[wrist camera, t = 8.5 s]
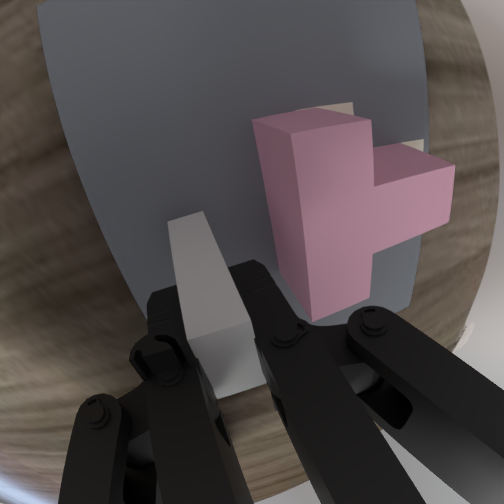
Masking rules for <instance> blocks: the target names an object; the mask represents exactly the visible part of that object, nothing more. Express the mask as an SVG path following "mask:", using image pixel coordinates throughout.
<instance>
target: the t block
mask: <svg viewBox="0 0 504 504" xmlns="http://www.w3.org/2000/svg"><path fill="white" fill-rule="evenodd" d="M252 124H253V129H254V134H255V139H256V144H257V150H258V155H259V160H260V165H261V170H262V176H263V181H264V186H265V192H266V197H267V203H268V208H269V214H270V219H271V225H272V231H273V236H274V242H275V248H276V253H277V259H278V265H279V271H280V273H281V275H282V277H283V278H284V280H285V281H286V283H287V284H288V286H289V287H290V289H291V290H292V292H293V293H294V295H295V297H296V298H297V300H298V301H299V303H300V304H301V306H302V307H303V309H304V310H305V312H306V313H307V315H308V317H309V318H310V320H311V321H312V322H314V321H316V320H319V319H321V318H324V317H326V316H329V315H331V314H333V313H336V312H338V311H340V310H343V309H345V308H347V307H350V306H352V305H354V304H357V303H359V302H361V301H363V300H366V299H368V298H369V297H370V286H371V273H372V257H373V254H374V253H376V252H379V251H381V250H384V249H386V248H389V247H391V246H394V245H396V244H399V243H401V242H403V241H406V240H408V239H411V238H413V237H415V236H418V235H420V234H422V233H425V232H427V231H429V230H432V229H434V228H436V227H439V226H441V225H443V224H446V223H448V222H449V217H450V210H451V202H452V194H453V184H454V173H455V165H454V164H452V163H450V162H447V161H445V160H443V159H440V158H438V157H435V156H433V155H430V154H428V153H425V152H423V151H420V150H418V149H415V148H413V147H410V146H407V145H404V144H402V143H396V144H391V145H386V146H381V147H376V148H373V141H372V125H371V120H370V119H366V118H362V117H358V116H354V115H350V114H345V113H341V112H336V111H331V110H326V109H321V108H309V109H303V110H298V111H292V112H287V113H281V114H276V115H271V116H266V117H262V118H257V119H253V120H252Z"/></svg>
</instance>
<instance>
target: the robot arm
mask: <svg viewBox="0 0 504 504" xmlns="http://www.w3.org/2000/svg"><path fill="white" fill-rule="evenodd" d="M167 223H168V230H169V238H170V245H171V252H172V258H173V265H174V271H175V277H176V283H177V285H174V286H170V287H167V288H164V289H161V290H158V291H154V292H152V293H151V295H150V297H149V300H148V302H147V324H148V335H146V336H144V337H143V338H141V339H140V340H139V341H138V342H137V343H136V344H135V345H134V347H133V348H132V350H131V352H130V357H129V361H130V363H131V364H132V366H133V367H134V368H135V370H136V371H137V372H138V374H139V375H140V376H141V378H142V379H143V380H144V381H143V382H142V383H141V384H140V385H139V386H138V387H137V388H135V389H134V390H132V391H131V392H129V393H127V394H125V395H124V396H122V397H120V398H118V399H117V400H116V399H115V398H114V397H113V396H111V395H107V394H97V395H94V396H92V397H90V398H88V399H86V401H85V402H84V403H83V404H82V405H81V406H80V408H79V410H78V412H77V415H76V418H75V422H74V426H73V430H72V434H71V439H70V443H69V447H68V452H67V456H66V461H65V466H64V471H63V477H62V482H61V488H60V494H59V501H58V504H254V502H253V500H252V497H251V495H250V492H249V489H248V487H247V484H246V481H245V478H244V476H243V473H242V470H241V467H240V464H239V462H238V459H237V456H236V453H235V450H234V447H233V444H232V441H231V438H230V435H229V432H228V429H227V426H226V423H225V420H224V416H223V414H222V413H221V411H220V409H219V407H218V404H217V400H216V398H217V399H220V398H223V397H227V396H230V395H233V394H236V393H239V392H242V391H245V390H248V389H251V388H254V387H257V386H260V385H263V384H265V383H266V382H267V384H268V386H269V388H270V391H271V395H272V399H273V403H274V407H275V411H276V410H278V413H279V415H280V417H281V419H282V422H283V424H284V426H285V428H286V430H287V433H288V435H289V437H290V439H291V441H292V444H293V446H294V448H295V450H296V452H297V454H298V457H299V459H300V461H301V463H302V465H303V467H304V469H305V471H306V474H307V476H308V478H309V480H310V482H311V484H312V486H313V488H314V490H315V492H316V494H317V496H318V498H319V500H320V502H321V504H426V503H425V501H424V500H423V498H422V497H421V495H420V493H419V492H418V490H417V488H416V487H415V485H414V484H413V482H412V481H411V479H410V477H409V476H408V474H407V473H406V471H405V469H404V468H403V466H402V465H401V463H400V462H399V460H398V458H397V457H396V455H395V454H394V452H393V451H392V449H391V448H390V446H389V444H388V443H387V441H386V440H385V438H384V437H383V435H382V433H381V432H380V430H379V429H378V427H377V426H376V424H375V423H374V421H375V422H376V423H377V424H378V425H379V426H380V427H381V428H382V429H384V430H385V431H386V432H387V433H388V434H389V435H390V436H391V437H393V438H394V439H395V440H396V441H397V442H398V443H399V444H400V445H402V446H403V447H404V448H405V449H406V450H407V451H408V452H409V453H411V454H412V455H413V456H414V457H415V458H416V459H418V460H419V461H420V462H421V463H422V464H423V465H424V466H426V467H427V468H428V469H429V470H430V471H432V472H433V473H434V474H435V475H436V476H437V477H439V478H440V479H441V480H442V481H443V482H444V483H446V484H447V485H448V486H449V487H451V488H452V489H453V490H454V491H456V492H457V493H458V494H459V495H460V496H462V497H463V498H464V499H465V500H466V501H468V502H469V503H470V504H504V390H502V389H501V388H500V387H498V386H497V385H496V384H494V383H493V382H491V381H490V380H489V379H488V378H486V377H485V376H483V375H482V374H480V373H479V372H478V371H476V370H475V369H474V368H472V367H471V366H469V365H468V364H467V363H465V362H464V361H462V360H461V359H460V358H458V357H457V356H456V355H454V354H453V353H451V352H450V351H448V350H447V349H446V348H444V347H443V346H441V345H440V344H438V343H437V342H436V341H434V340H433V339H431V338H430V337H428V336H427V335H426V334H424V333H423V332H421V331H420V330H418V329H417V328H415V327H414V326H413V325H411V324H410V323H408V322H407V321H405V320H404V319H402V318H401V317H399V316H398V315H396V314H395V313H393V312H392V311H390V310H388V309H386V308H384V307H380V306H373V305H372V306H365V307H361V308H359V309H357V310H355V311H354V312H353V313H352V314H351V315H350V316H349V318H348V322H347V323H346V324H338V325H330V326H317V325H311V324H309V323H308V322H307V321H306V320H303V319H301V318H299V317H298V316H297V315H296V314H295V312H294V311H293V309H292V308H291V306H290V304H289V303H288V301H287V300H286V298H285V297H284V295H283V293H282V292H281V290H280V289H279V287H278V286H277V285H276V282H275V281H274V279H273V278H272V277H271V275H270V273H269V271H268V270H267V268H266V267H265V265H263V264H261V263H259V262H258V261H256V260H254V259H253V260H249V261H246V262H243V263H240V264H237V265H234V266H231V267H227V266H226V263H225V261H224V259H223V256H222V254H221V252H220V250H219V247H218V245H217V243H216V240H215V238H214V236H213V233H212V231H211V229H210V226H209V224H208V222H207V219H206V217H205V215H204V212H203V211H201V212H197V213H194V214H191V215H187V216H184V217H181V218H178V219H174V220H171V221H168V222H167ZM215 396H216V397H215ZM373 420H374V421H373Z"/></svg>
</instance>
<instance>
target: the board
mask: <svg viewBox="0 0 504 504" xmlns="http://www.w3.org/2000/svg"><path fill="white" fill-rule="evenodd" d="M36 7H37V15H38V22H39V29H40V35H41V41H42V46H43V52H44V57H45V61H46V66H47V71H48V75H49V79H50V84H51V88H52V92H53V95H54V99H55V103H56V107H57V110H58V114H59V117H60V121H61V124H62V127H63V130H64V134H65V137H66V140H67V143H68V146H69V149H70V152H71V155H72V158H73V161H74V164H75V166H76V169H77V172H78V175H79V177H80V180H81V183H82V185H83V188H84V190H85V193H86V195H87V198H88V200H89V203H90V205H91V208H92V210H93V212H94V215H95V217H96V220H97V222H98V224H99V226H100V229H101V231H102V233H103V235H104V238H105V240H106V242H107V244H108V246H109V248H110V251H111V253H112V255H113V257H114V259H115V261H116V263H117V265H118V267H119V269H120V271H121V273H122V275H123V277H124V279H125V281H126V283H127V285H128V287H129V289H130V291H131V293H132V294H133V296H134V298H135V300H136V302H137V304H138V306H139V307H140V309H141V311H142V313H143V315H144V316H145V318H146V320H147V302H148V300H149V297H150V295H151V293H152V292H154V291H158V290H161V289H164V288H167V287H170V286H174V285H177V283H176V277H175V271H174V265H173V258H172V252H171V245H170V238H169V230H168V223H167V222H168V221H171V220H174V219H178V218H181V217H184V216H187V215H191V214H194V213H197V212H201V211H203V212H204V215H205V217H206V219H207V222H208V224H209V226H210V229H211V231H212V233H213V236H214V238H215V240H216V243H217V245H218V247H219V250H220V252H221V254H222V256H223V259H224V261H225V263H226V266H227V267H231V266H234V265H237V264H240V263H243V262H246V261H249V260H253V259H254V260H256V261H258V262H259V263H261V264H263V265H265V267H266V268H267V270H268V271H269V273H270V275H271V277H272V278H273V279H274V281H275V282H276V285H277V286H278V287H279V289H280V290H281V292H282V293H283V295H284V297H285V298H286V300H287V301H288V303H289V304H290V306H291V308H292V309H293V311H294V312H295V314H296V315H297V316H298V317H299V318H301V319H303V320H306V321H307V322H308V323H309V324H311V325H317V326H330V325H338V324H346V323H347V322H348V318H349V316H350V315H351V314H352V313H353V312H354V311H355V310H357V309H359V308H361V307H365V306H372V305H373V306H380V307H384V308H386V309H388V310H390V311H392V312H393V313H396V312H398V311H400V310H402V309H404V308H406V307H408V306H409V305H410V301H411V296H412V291H413V286H414V281H415V276H416V271H417V265H418V259H419V253H420V246H421V239H422V234H420V235H418V236H415V237H413V238H411V239H408V240H406V241H403V242H401V243H399V244H396V245H394V246H391V247H389V248H386V249H384V250H381V251H379V252H376V253H374V254H373V257H372V273H371V286H370V297H369V298H368V299H366V300H363V301H361V302H359V303H357V304H354V305H352V306H350V307H347V308H345V309H343V310H340V311H338V312H336V313H333V314H331V315H329V316H326V317H324V318H321V319H319V320H316V321H314V322H312V321H311V320H310V318H309V317H308V315H307V313H306V312H305V310H304V309H303V307H302V306H301V304H300V303H299V301H298V300H297V298H296V297H295V295H294V293H293V292H292V290H291V289H290V287H289V286H288V284H287V283H286V281H285V280H284V278H283V277H282V275H281V273H280V271H279V265H278V259H277V253H276V248H275V242H274V236H273V231H272V225H271V219H270V214H269V208H268V203H267V197H266V192H265V186H264V181H263V176H262V170H261V165H260V160H259V155H258V150H257V144H256V139H255V134H254V129H253V124H252V120H253V119H257V118H262V117H266V116H271V115H276V114H281V113H287V112H292V111H298V110H303V109H309V108H321V109H326V110H331V111H336V112H341V113H345V114H350V115H354V116H358V117H362V118H366V119H370V120H371V125H372V141H373V148H376V147H381V146H386V145H391V144H396V143H402V144H404V145H407V146H410V147H413V148H415V149H418V150H420V151H423V152H425V153H428V154H429V110H428V89H427V76H426V65H425V56H424V48H423V41H422V34H421V28H420V22H419V16H418V11H417V6H416V1H415V0H47V1H45V2H43V3H42V4H40V5H38V6H36Z"/></svg>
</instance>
